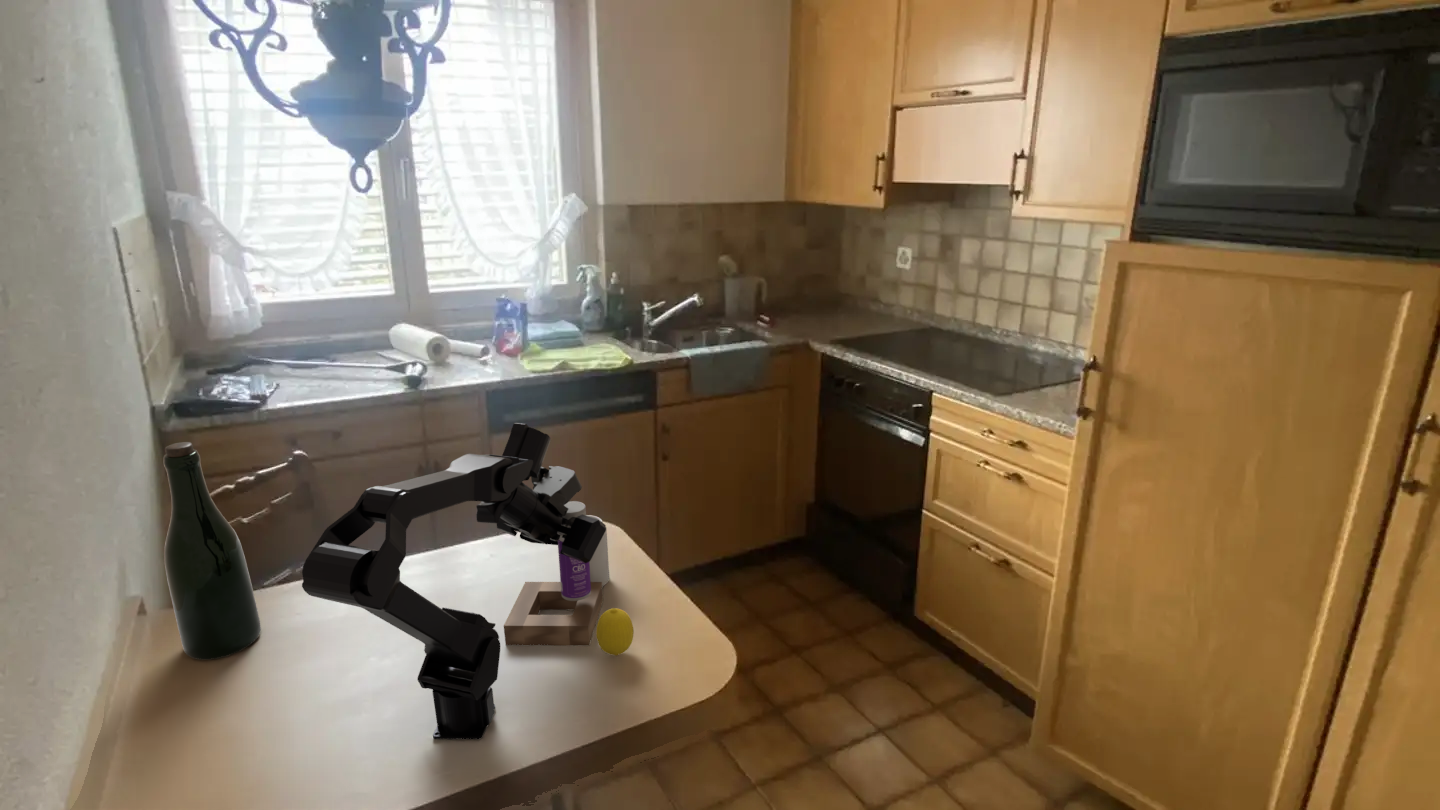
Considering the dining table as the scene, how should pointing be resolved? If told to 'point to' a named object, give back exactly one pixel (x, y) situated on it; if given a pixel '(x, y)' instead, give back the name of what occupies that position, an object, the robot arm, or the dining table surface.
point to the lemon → (614, 631)
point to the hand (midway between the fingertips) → (579, 546)
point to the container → (573, 564)
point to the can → (600, 560)
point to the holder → (552, 616)
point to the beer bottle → (205, 565)
